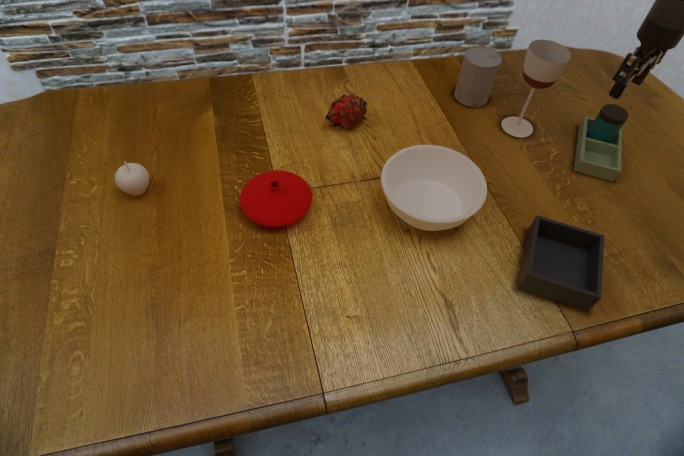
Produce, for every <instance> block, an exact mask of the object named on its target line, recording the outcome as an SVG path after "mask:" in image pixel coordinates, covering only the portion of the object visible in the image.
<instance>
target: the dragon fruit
mask: <svg viewBox="0 0 684 456" xmlns="http://www.w3.org/2000/svg"><path fill="white" fill-rule="evenodd" d="M329 107H330V108H329V110H328V112H327V114H326V115H325V119H324V120H325V122H327V120H328V121H329V125H330V126H332V127H335V128H336V127H338V128H339V125H340V126H341V128H342V129H343V130H345V129H351V128H353V127H354V126H355V124H358V125H361V124H362V123H363V120H365V119H366V117H367V116H366V114H367V112H368V102H367V101H366V100H364V98H363V97H360V96H358V95H354V94H352V93H350V94H348V95H347V94H345V93H344V94H342V95H341V96H340V97H338V98H337V99H336V100H333V101H331V104H330V106H329Z"/></svg>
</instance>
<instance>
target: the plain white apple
mask: <svg viewBox="0 0 684 456" xmlns="http://www.w3.org/2000/svg"><path fill="white" fill-rule="evenodd" d="M114 182H115V185H116V187H117V188H118V189H119V190H120V191H122V192H123V193H126V194H128V195H130V194H131V195H130V196H133V197H138V196H141V195H143V194H145V192H146V191H147V190H148V188H149V184H150V174H149V171H148V169H146V167H145V166H144V165H142V164H140V163H137V162H127V161H123V165H121V166H120V167H118V169H117V170H116V172H115V173H114ZM146 188H147V189H146ZM143 191H144V192H143ZM142 192H143V193H142ZM139 193H141V194H139ZM135 194H137V195H135Z"/></svg>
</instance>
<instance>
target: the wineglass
mask: <svg viewBox="0 0 684 456" xmlns="http://www.w3.org/2000/svg"><path fill="white" fill-rule="evenodd" d="M571 58H572V53H571V52H570V50H569V49H568V48H567V47H566V46H565V45H563V44H561V43H559V42H556V41H553V40H549V39H535V40H532V41H531V42H530V43H529V45H528V48H527V50H526V53H525V57H524V61H523V66H522V77H523V79H524V82H525V83H526V84H527V85H528V86H529V87H531V89H530V92H529V94H528V96H527V99H526V101H525V103H524V106H523V108H522V109H521V112H520V115H519V116H513V115H512V116H508V117H505V118H503V119H502V121H501V123H500V124H501V128H502V130H503V131H504V132H505V133H506V134H508V135H510V136H513V137H515V138H528V137H529V136H531V135H532V134H533V133H534V127H533V125H532V124H531V122H530V121H528V120H527V119H526V118H524V116H525V114H526V112H527V109H528V107H529V105H530V102H531V100H532V99H533V95H534V93H535V91H536V90H543V89H544V90H545V89H548V88H550V87H552V86H554V85H555V83H556V82H557V81H558V79H559V78H560V77H561V76H562V75H563V72H564V71H565V69H566V68H567V66H568V64H569V62H570V60H571Z"/></svg>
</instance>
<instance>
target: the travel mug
mask: <svg viewBox="0 0 684 456" xmlns="http://www.w3.org/2000/svg"><path fill="white" fill-rule="evenodd" d="M628 118H629V112H628V111H627V109H626V108H624V107H623V106H620V105H619V104H615V103H607V104H604V105H603V106H602V107H601V109H600V110H599V112H598V113H597V115H596V117H595V120H594V122H593V123H592V125H591V127H590V129H589V130H588V132H587V134H586V137H587V138H591V139H595V140H599V141H602V142H606V143H610V144H611V142H612V141H613V139H614V138H615V136H616V135H617V133H618V132H619V130H620V129H621V127H622V128H623V127H624V125H625V123H626V121H627V120H628Z"/></svg>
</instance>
